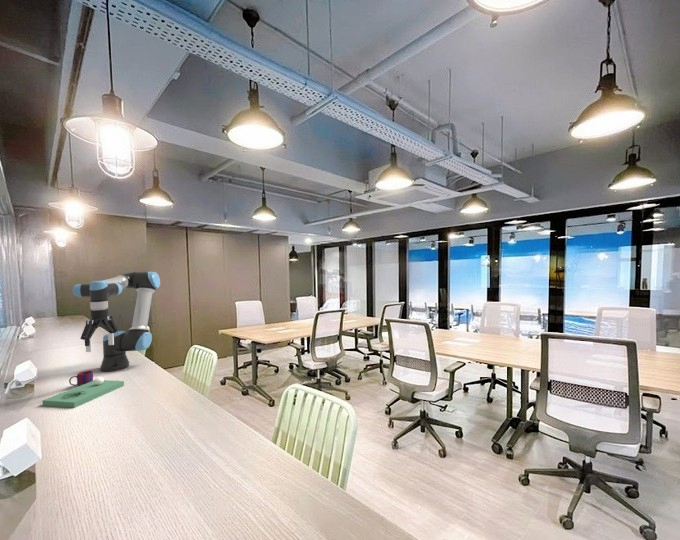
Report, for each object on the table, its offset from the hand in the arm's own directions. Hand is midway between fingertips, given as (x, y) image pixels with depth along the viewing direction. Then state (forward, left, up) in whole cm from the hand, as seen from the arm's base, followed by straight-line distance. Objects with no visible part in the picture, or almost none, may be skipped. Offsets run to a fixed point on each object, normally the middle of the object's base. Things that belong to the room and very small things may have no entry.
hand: (100, 348), depth 161 cm
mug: (0, -13, -22) cm, 25 cm away
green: (+10, +2, -21) cm, 23 cm away
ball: (+3, +2, -19) cm, 19 cm away
